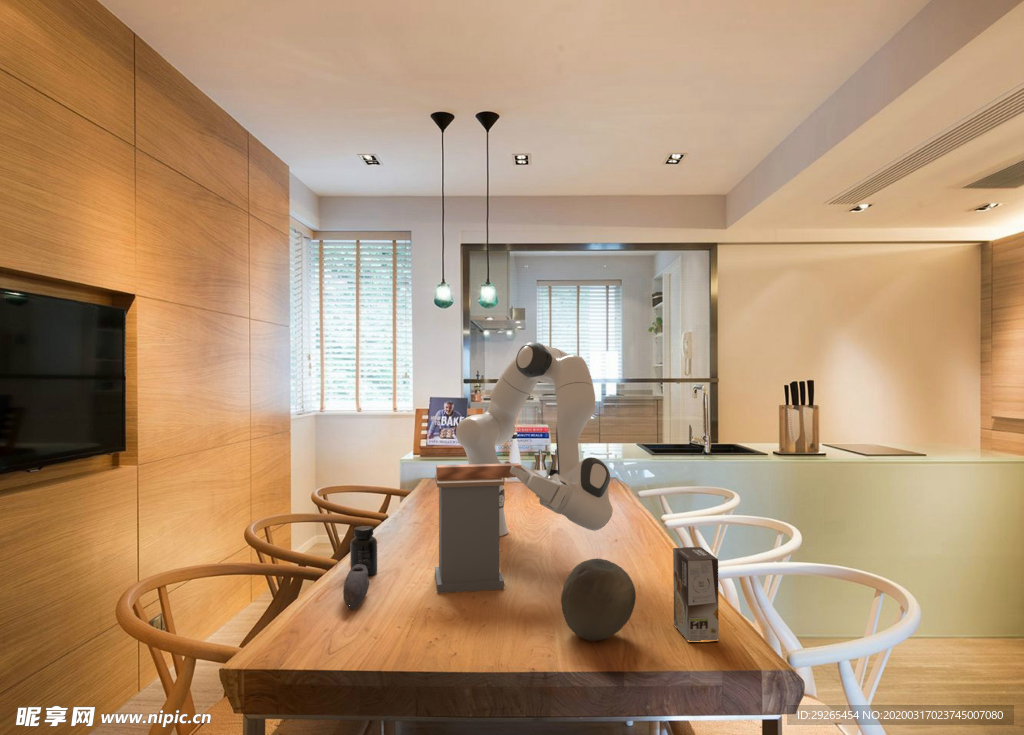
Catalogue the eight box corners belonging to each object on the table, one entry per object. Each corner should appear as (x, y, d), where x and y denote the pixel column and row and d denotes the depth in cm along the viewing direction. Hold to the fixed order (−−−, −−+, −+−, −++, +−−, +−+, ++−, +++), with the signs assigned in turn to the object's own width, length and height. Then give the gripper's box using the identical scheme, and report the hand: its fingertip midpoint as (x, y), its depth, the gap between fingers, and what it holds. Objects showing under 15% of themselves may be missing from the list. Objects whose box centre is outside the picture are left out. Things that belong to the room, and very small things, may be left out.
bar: (436, 479, 153) (436, 467, 153) (436, 477, 157) (436, 465, 157) (521, 477, 157) (521, 465, 157) (518, 474, 161) (518, 463, 161)
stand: (437, 593, 148) (437, 483, 148) (434, 574, 162) (434, 474, 162) (504, 589, 151) (504, 481, 151) (495, 571, 164) (495, 472, 165)
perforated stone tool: (361, 615, 135) (361, 583, 135) (336, 616, 134) (336, 583, 134) (372, 591, 150) (372, 562, 150) (349, 591, 149) (349, 562, 149)
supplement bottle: (382, 571, 164) (382, 525, 165) (368, 579, 158) (368, 532, 158) (359, 568, 167) (359, 523, 167) (344, 576, 160) (345, 529, 160)
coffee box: (720, 642, 120) (720, 559, 121) (688, 643, 120) (687, 560, 120) (702, 623, 130) (701, 546, 130) (671, 624, 129) (671, 547, 129)
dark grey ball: (588, 659, 113) (588, 576, 114) (548, 631, 126) (548, 556, 126) (649, 644, 120) (649, 565, 120) (605, 618, 132) (605, 547, 133)
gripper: (550, 474, 171) (507, 450, 169) (569, 487, 150) (520, 460, 149) (539, 495, 170) (495, 470, 168) (557, 511, 150) (507, 483, 148)
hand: (507, 466), depth 158 cm, fingers open, 8 cm apart
